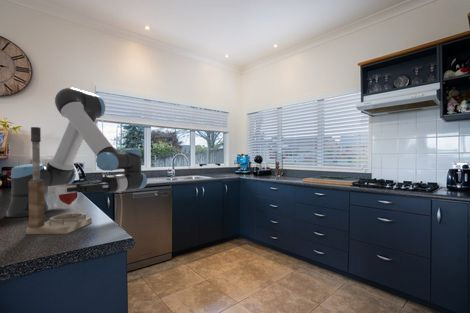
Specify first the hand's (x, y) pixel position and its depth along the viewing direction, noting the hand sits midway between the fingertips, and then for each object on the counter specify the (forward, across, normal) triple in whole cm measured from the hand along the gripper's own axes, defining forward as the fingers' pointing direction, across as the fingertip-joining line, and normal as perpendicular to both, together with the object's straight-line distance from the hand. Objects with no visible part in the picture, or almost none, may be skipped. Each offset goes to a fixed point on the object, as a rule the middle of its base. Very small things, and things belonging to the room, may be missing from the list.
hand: (52, 190), depth 87 cm
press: (-3, +1, -14) cm, 15 cm away
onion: (-5, 0, -6) cm, 8 cm away
